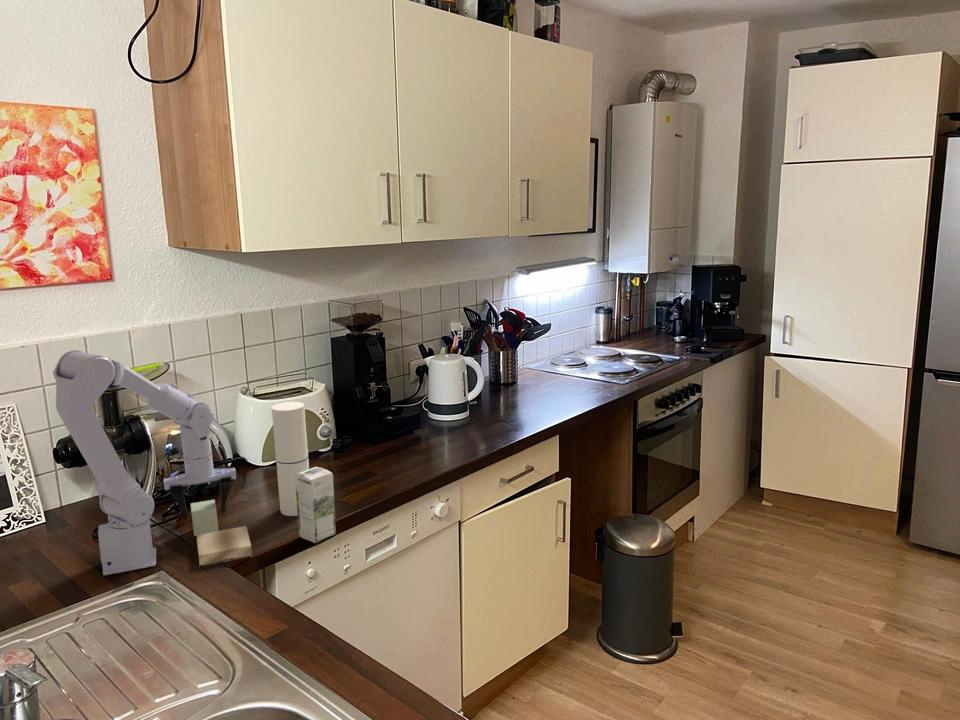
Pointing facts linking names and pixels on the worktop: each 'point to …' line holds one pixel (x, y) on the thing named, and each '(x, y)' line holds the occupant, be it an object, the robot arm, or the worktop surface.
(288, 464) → the cylindrical container
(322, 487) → the syrup box
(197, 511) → the sage block
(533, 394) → the worktop surface
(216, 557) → the birch base
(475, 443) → the worktop surface
